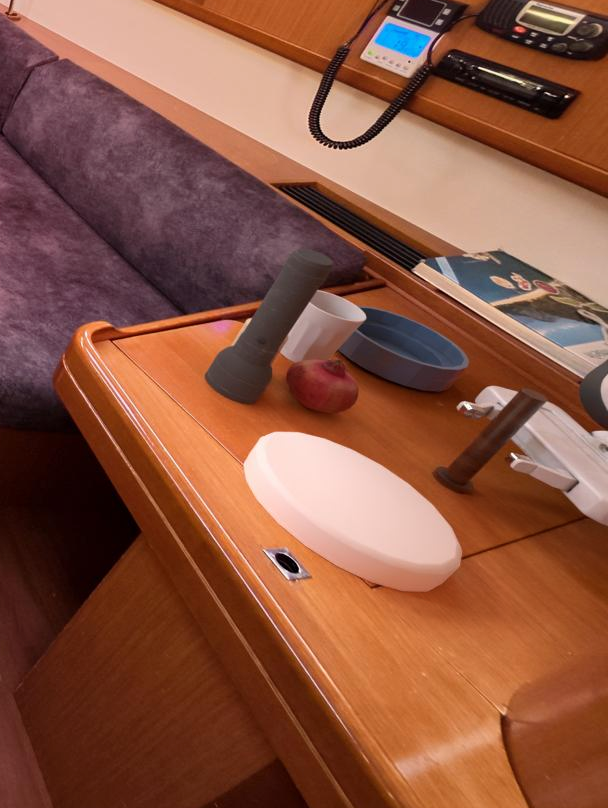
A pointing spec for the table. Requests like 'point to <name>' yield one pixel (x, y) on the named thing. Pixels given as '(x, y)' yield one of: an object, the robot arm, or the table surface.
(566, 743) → the table surface
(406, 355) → the bowl
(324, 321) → the cup
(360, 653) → the table surface
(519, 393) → the stick
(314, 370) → the fruit
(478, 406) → the robot arm
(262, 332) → the flashlight
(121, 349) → the table surface
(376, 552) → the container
